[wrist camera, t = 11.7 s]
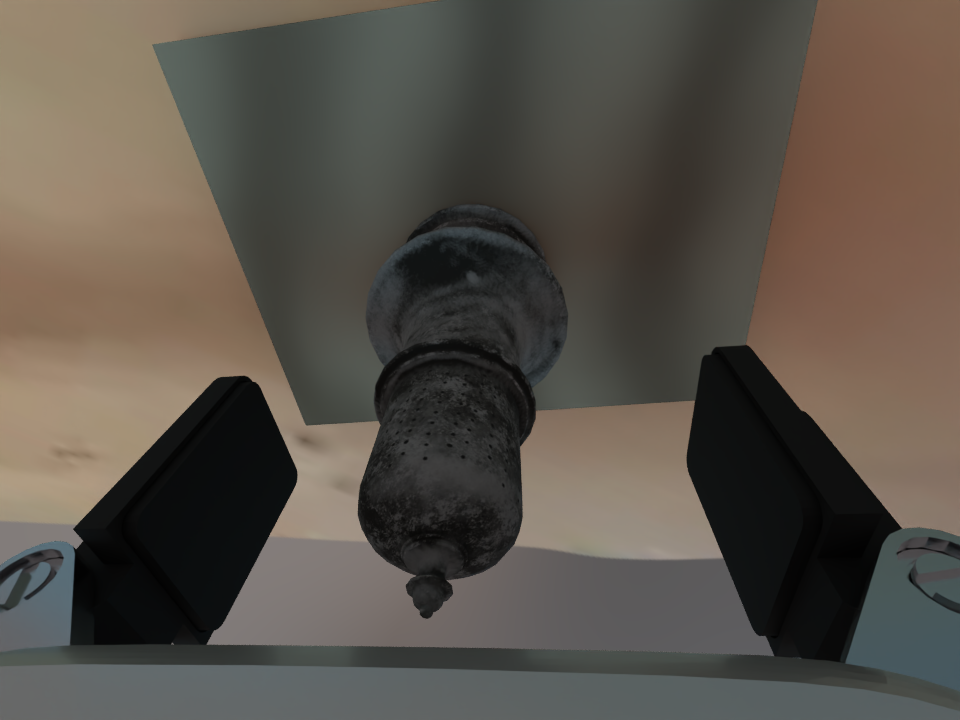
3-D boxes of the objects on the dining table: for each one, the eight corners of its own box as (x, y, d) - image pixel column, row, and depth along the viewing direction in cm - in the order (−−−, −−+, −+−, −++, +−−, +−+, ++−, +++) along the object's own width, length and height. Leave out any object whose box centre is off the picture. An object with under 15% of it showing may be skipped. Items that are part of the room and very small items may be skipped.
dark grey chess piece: (491, 375, 19) (477, 741, 9) (361, 296, 17) (158, 632, 7) (592, 262, 16) (740, 600, 6) (448, 155, 14) (321, 371, 4)
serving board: (798, -48, 13) (830, -60, 12) (719, 376, 20) (734, 397, 19) (182, 46, 15) (152, 44, 13) (317, 404, 22) (305, 425, 21)
